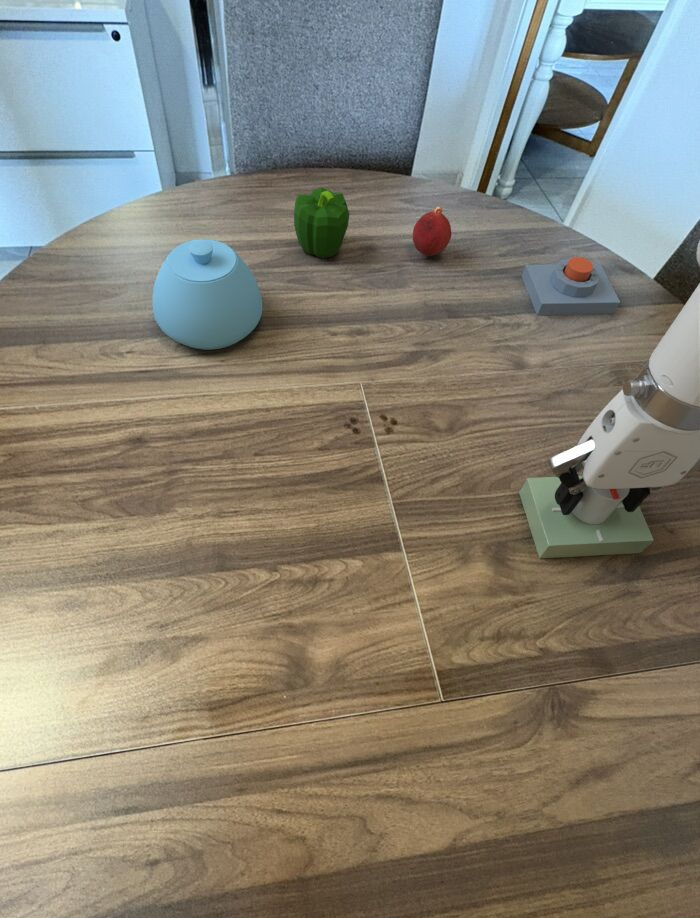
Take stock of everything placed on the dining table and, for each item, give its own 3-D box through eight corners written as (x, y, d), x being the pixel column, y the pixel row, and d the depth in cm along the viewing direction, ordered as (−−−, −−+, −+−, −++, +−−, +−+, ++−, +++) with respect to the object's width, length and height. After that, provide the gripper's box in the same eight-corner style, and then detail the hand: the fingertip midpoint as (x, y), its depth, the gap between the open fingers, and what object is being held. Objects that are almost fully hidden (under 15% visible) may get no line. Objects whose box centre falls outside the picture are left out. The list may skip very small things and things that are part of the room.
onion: (427, 271, 95) (438, 224, 88) (401, 253, 97) (410, 205, 91) (452, 257, 97) (465, 210, 91) (426, 239, 100) (436, 192, 93)
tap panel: (614, 488, 75) (626, 472, 72) (640, 553, 70) (654, 539, 67) (518, 492, 74) (527, 476, 71) (539, 558, 69) (549, 545, 66)
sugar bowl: (282, 331, 86) (282, 259, 77) (187, 372, 81) (174, 300, 72) (229, 273, 93) (223, 199, 83) (137, 307, 88) (119, 233, 78)
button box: (594, 275, 97) (605, 253, 93) (613, 314, 92) (626, 292, 89) (521, 276, 96) (529, 254, 92) (536, 315, 91) (546, 293, 88)
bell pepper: (291, 233, 99) (291, 171, 90) (341, 232, 100) (347, 170, 91) (295, 266, 94) (297, 204, 86) (348, 264, 95) (355, 203, 87)
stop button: (584, 267, 92) (588, 256, 90) (591, 282, 90) (596, 272, 88) (560, 267, 92) (565, 257, 90) (568, 282, 90) (572, 272, 88)
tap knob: (564, 492, 70) (583, 465, 66) (601, 491, 70) (622, 463, 66) (576, 525, 68) (597, 499, 63) (614, 523, 68) (637, 497, 64)
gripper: (599, 427, 50) (526, 535, 66) (795, 420, 52) (680, 528, 67) (572, 361, 54) (509, 478, 69) (755, 357, 56) (654, 472, 71)
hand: (593, 501), depth 68 cm, fingers open, 6 cm apart
